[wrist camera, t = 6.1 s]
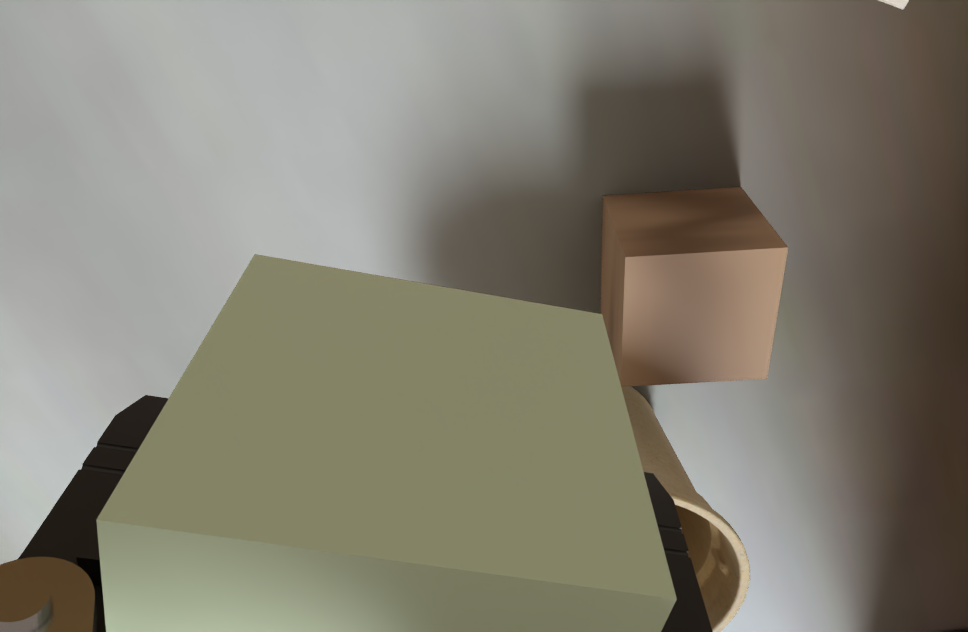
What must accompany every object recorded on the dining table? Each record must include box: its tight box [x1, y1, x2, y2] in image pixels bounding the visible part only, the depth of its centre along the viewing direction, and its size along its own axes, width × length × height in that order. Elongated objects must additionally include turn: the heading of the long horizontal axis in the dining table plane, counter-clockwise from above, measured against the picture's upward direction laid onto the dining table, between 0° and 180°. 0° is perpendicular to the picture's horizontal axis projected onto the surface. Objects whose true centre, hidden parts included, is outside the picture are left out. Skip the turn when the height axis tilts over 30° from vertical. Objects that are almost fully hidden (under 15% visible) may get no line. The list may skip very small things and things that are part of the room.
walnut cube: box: [601, 187, 788, 387], centre depth 27 cm, size 5×5×5 cm
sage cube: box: [96, 254, 677, 632], centre depth 10 cm, size 5×5×5 cm
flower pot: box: [621, 386, 750, 632], centre depth 30 cm, size 9×9×9 cm
